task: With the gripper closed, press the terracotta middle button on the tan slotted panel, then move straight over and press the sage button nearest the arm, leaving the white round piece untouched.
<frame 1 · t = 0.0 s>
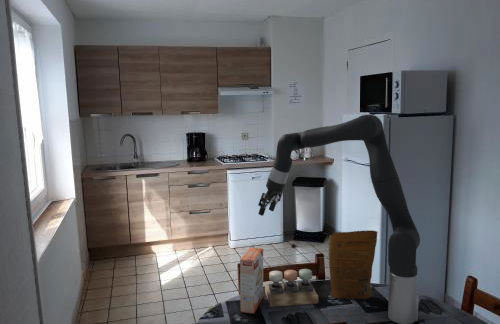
hand: (266, 212, 173), 31 cm above the table, tool tilted 20°, fingers open, 8 cm apart
sage button: (305, 277, 163), point 8 cm above the table, slide at 0.0 cm
cracker box: (252, 305, 158), on the table
white round piece: (276, 279, 162), point 8 cm above the table, slide at 0.0 cm
tan slotted panel: (290, 297, 164), on the table
pancake mix bag: (351, 297, 163), on the table
terracotta button: (290, 278, 163), point 8 cm above the table, slide at 0.0 cm
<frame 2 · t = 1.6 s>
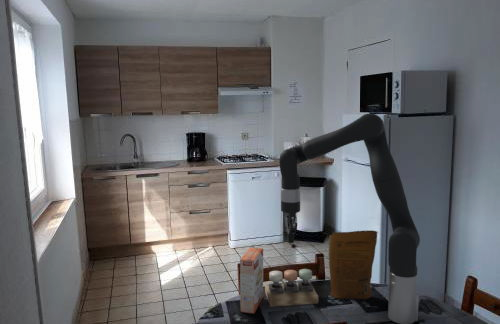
hand: (290, 242, 161), 23 cm above the table, tool pointing down, fingers closed
nothing on the table moved.
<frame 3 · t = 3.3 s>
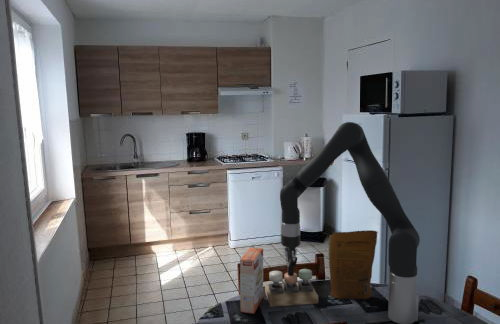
hand: (290, 274, 163), 9 cm above the table, tool pointing down, fingers closed
terracotta button: (290, 280, 163), point 7 cm above the table, slide at 1.1 cm, touching gripper
everything else where it was.
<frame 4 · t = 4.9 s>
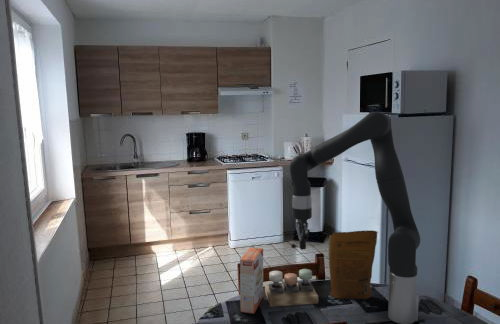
hand: (302, 248, 161), 20 cm above the table, tool pointing down, fingers closed
terracotta button: (290, 281, 163), point 7 cm above the table, slide at 1.4 cm
everything else where it was.
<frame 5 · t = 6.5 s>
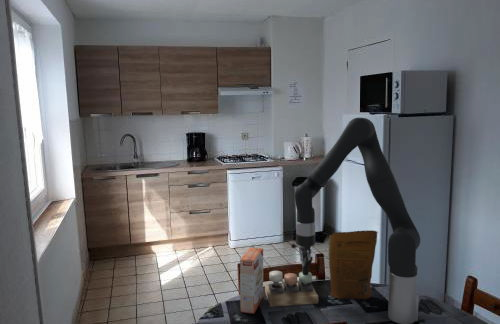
hand: (305, 274, 163), 9 cm above the table, tool pointing down, fingers closed
sage button: (305, 279, 164), point 7 cm above the table, slide at 1.1 cm, touching gripper
everything else where it was.
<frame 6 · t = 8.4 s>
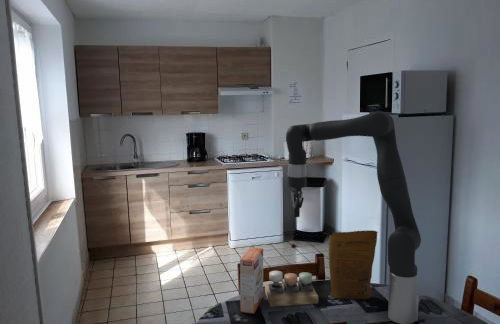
hand: (296, 216, 165), 32 cm above the table, tool pointing down, fingers closed
sage button: (305, 280, 164), point 7 cm above the table, slide at 1.5 cm
everything else where it was.
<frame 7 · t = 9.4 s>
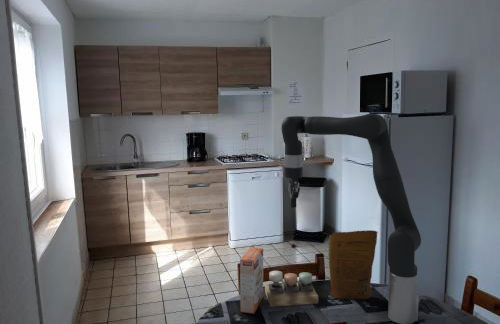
hand: (293, 207, 168), 35 cm above the table, tool pointing down, fingers closed
nothing on the table moved.
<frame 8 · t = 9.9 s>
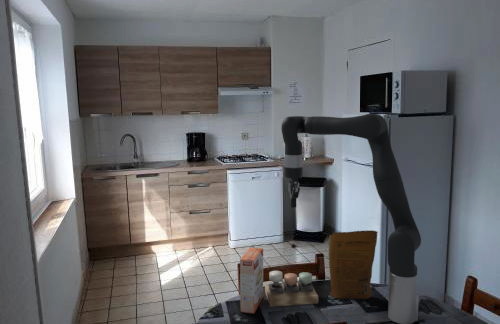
hand: (293, 207, 168), 35 cm above the table, tool pointing down, fingers closed
nothing on the table moved.
at the end: terracotta button slide at 1.4 cm; sage button slide at 1.5 cm; white round piece slide at 0.0 cm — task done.
